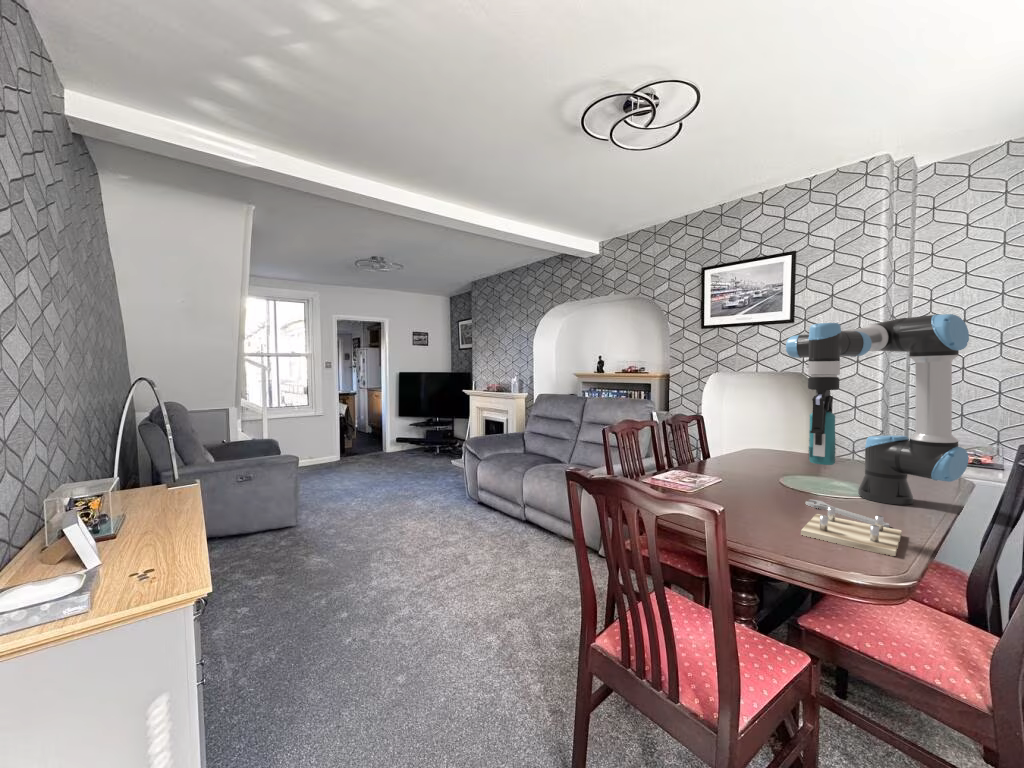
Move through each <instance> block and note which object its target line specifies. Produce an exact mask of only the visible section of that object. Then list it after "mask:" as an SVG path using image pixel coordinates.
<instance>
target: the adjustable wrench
mask: <svg viewBox="0 0 1024 768" xmlns="http://www.w3.org/2000/svg"><path fill="white" fill-rule="evenodd" d="M814 503H815V504H814ZM805 504H806V505H808V506H811V507H814V508H817V510H822V509H825V510H824V511H827V510H828V507H834V508H835V514H837V513H838V514H837V515H840V514H841V515H840V516H843V517H847V518H850V519H853V520H856V519H857V520H856V521H859V522H860V521H861V522H862V523H866V524H871V525H875V518H871V517H868V516H865V515H862V514H859V513H856V512H855V513H854V512H851V511H848V510H845V509H842V508H839V507H835V506H832V505H830V504H828V503H826V502H824V501H823V500H817V499H808V501H807V500H806V501H805ZM806 505H805V506H806ZM808 506H807V507H808ZM811 507H810V508H811ZM814 508H813V509H814ZM818 508H820V509H818ZM883 527H886V528H890V523H889V522H885V521H883Z"/></svg>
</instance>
